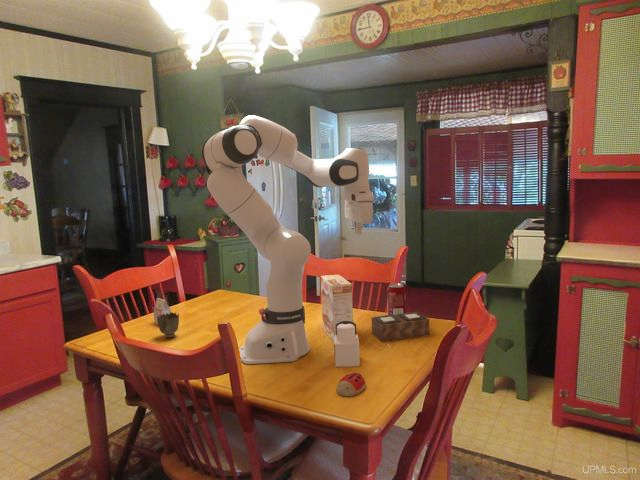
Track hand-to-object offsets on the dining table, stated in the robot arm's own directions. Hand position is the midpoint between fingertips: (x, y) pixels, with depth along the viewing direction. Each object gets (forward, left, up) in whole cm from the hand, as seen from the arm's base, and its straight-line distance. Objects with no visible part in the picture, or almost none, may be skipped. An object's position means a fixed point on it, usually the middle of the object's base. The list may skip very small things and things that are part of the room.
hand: (358, 234), depth 170 cm
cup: (-67, +11, -33) cm, 76 cm away
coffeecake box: (-11, -8, -33) cm, 36 cm away
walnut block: (+9, -15, -33) cm, 37 cm away
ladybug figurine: (-19, -48, -34) cm, 61 cm away
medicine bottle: (-15, -31, -33) cm, 48 cm away
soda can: (+16, +4, -33) cm, 37 cm away
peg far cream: (+13, -15, -33) cm, 39 cm away
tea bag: (-70, +27, -33) cm, 82 cm away
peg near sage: (+4, -15, -33) cm, 37 cm away
